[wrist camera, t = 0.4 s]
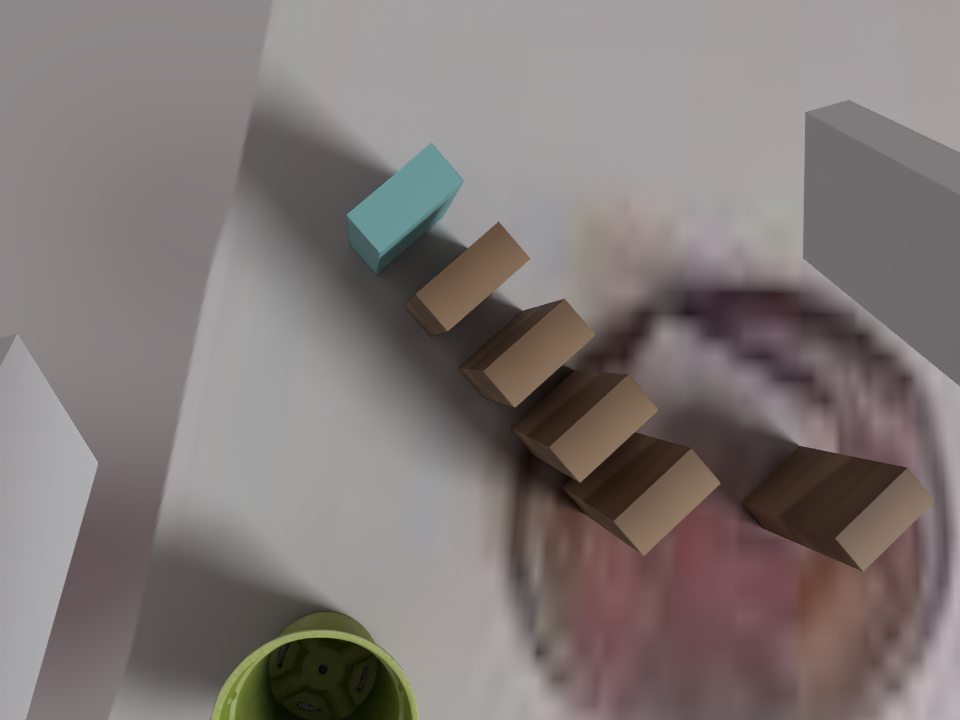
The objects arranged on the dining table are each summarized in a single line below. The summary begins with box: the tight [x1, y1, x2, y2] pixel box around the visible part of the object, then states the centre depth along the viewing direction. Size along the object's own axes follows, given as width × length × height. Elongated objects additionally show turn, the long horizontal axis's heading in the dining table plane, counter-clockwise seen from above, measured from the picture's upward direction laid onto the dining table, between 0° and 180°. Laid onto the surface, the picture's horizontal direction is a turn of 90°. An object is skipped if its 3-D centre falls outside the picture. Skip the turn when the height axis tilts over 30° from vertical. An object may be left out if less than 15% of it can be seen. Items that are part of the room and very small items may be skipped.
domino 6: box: [742, 446, 934, 571], centre depth 45 cm, size 2×5×10 cm, turn 131°
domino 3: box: [458, 299, 595, 408], centre depth 43 cm, size 2×5×10 cm, turn 131°
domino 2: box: [405, 222, 530, 336], centre depth 42 cm, size 2×5×10 cm, turn 131°
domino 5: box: [562, 433, 721, 556], centre depth 44 cm, size 2×5×10 cm, turn 131°
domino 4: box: [511, 371, 659, 482], centre depth 43 cm, size 2×5×10 cm, turn 131°
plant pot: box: [210, 612, 419, 720], centre depth 42 cm, size 9×9×9 cm
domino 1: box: [347, 143, 464, 274], centre depth 42 cm, size 2×5×10 cm, turn 131°
